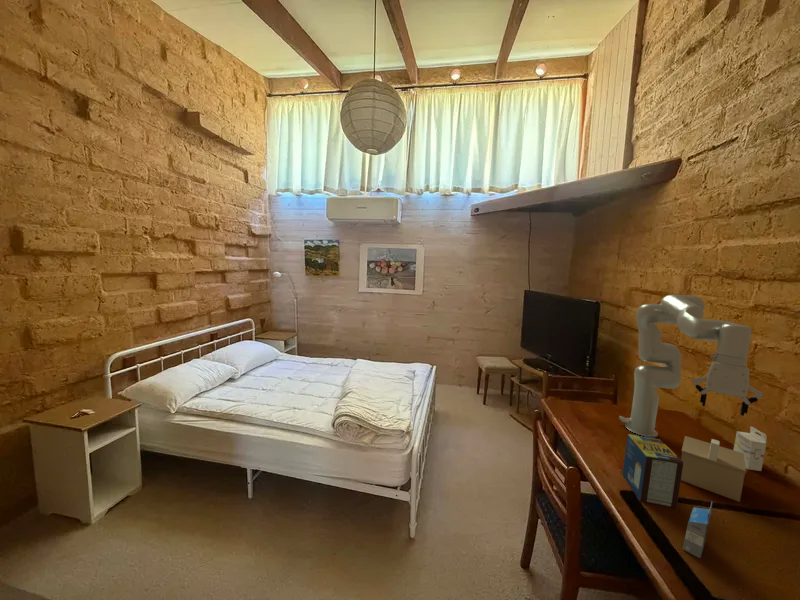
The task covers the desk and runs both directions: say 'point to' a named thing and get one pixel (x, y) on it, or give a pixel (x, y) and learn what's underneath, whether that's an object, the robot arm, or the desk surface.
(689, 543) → the label tape box
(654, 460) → the protein box
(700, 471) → the carton
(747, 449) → the ink cartridge box
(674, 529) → the desk surface
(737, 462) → the carton flap
